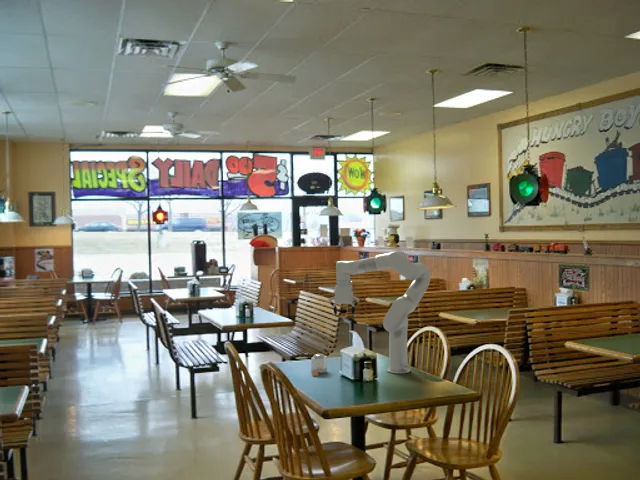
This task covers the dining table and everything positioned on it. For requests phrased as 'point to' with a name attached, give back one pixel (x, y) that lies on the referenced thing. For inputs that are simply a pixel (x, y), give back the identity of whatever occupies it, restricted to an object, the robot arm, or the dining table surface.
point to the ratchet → (318, 372)
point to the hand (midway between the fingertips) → (344, 314)
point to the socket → (318, 362)
